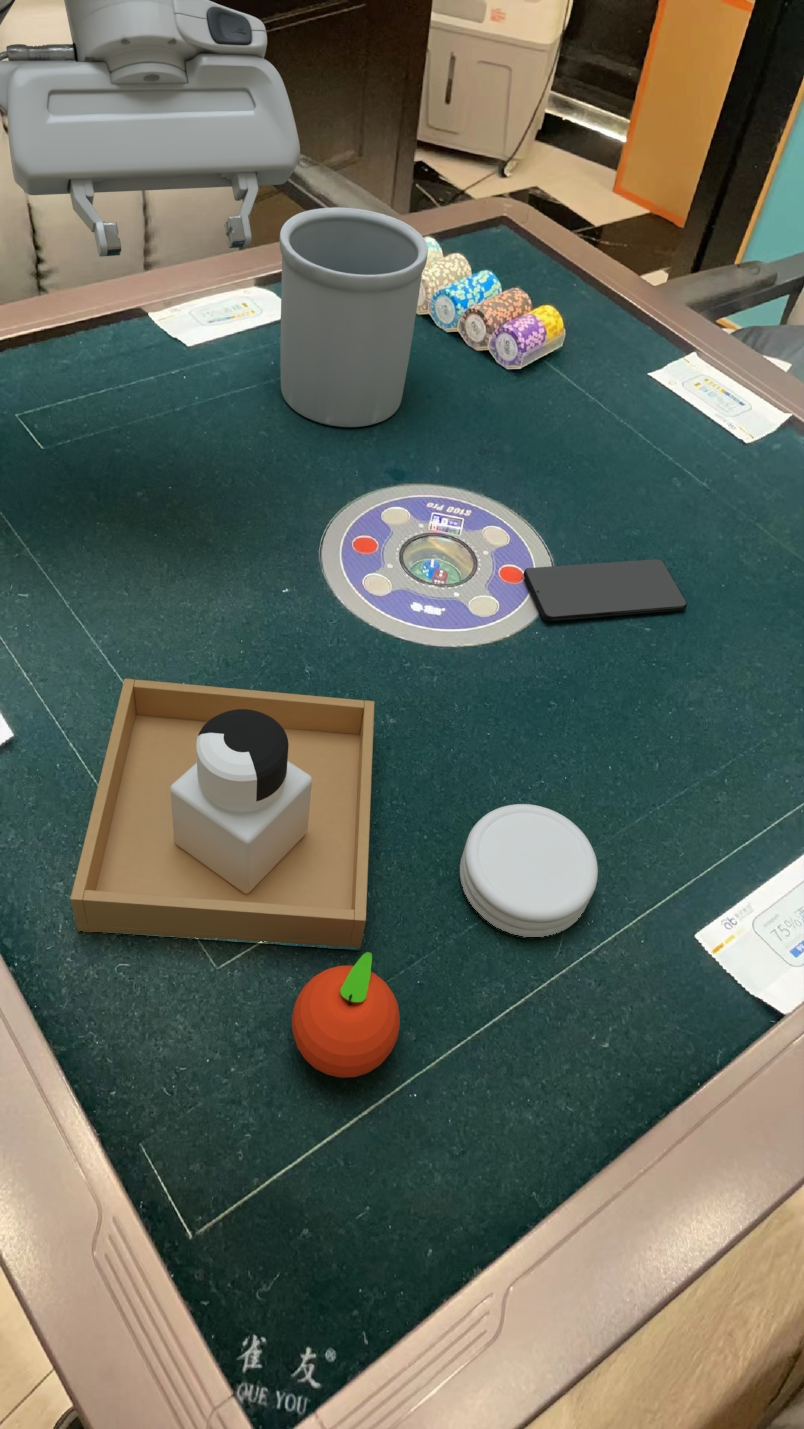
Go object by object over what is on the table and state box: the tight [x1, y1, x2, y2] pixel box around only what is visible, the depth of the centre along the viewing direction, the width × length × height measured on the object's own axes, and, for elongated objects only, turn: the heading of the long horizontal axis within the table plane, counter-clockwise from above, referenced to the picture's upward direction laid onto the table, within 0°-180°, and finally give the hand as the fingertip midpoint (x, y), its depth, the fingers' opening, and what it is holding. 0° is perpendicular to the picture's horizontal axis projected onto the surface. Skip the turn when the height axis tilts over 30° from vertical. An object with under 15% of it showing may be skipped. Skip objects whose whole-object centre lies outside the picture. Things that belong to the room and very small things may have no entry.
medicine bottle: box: [170, 709, 312, 893], centre depth 73 cm, size 7×7×12 cm
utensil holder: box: [279, 206, 429, 428], centre depth 111 cm, size 15×15×18 cm
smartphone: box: [522, 558, 688, 622], centre depth 101 cm, size 7×1×15 cm
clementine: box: [291, 951, 401, 1079], centre depth 67 cm, size 8×7×7 cm
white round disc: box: [459, 803, 599, 938], centre depth 78 cm, size 10×10×4 cm
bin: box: [69, 677, 375, 949], centre depth 78 cm, size 20×20×4 cm
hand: (176, 249), depth 76 cm, fingers open, 8 cm apart
